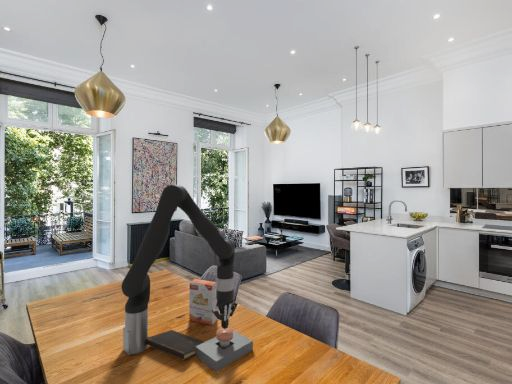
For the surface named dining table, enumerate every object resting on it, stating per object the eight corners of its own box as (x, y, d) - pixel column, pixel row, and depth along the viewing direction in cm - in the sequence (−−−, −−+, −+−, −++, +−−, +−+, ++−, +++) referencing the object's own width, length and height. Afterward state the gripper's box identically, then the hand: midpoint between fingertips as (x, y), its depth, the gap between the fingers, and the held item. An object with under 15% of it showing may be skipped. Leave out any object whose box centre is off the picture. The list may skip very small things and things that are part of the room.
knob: (223, 351, 112) (223, 337, 112) (213, 344, 116) (213, 331, 116) (236, 344, 117) (236, 331, 117) (225, 338, 122) (225, 325, 121)
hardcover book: (170, 334, 133) (171, 329, 133) (208, 348, 122) (208, 343, 122) (143, 344, 119) (144, 338, 119) (183, 360, 108) (184, 354, 108)
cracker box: (188, 321, 144) (188, 281, 144) (195, 316, 150) (195, 278, 150) (211, 326, 139) (212, 285, 139) (217, 320, 145) (217, 281, 145)
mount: (216, 371, 105) (216, 361, 104) (195, 356, 114) (195, 346, 114) (252, 349, 119) (252, 340, 119) (231, 337, 129) (231, 329, 129)
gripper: (218, 294, 109) (218, 337, 109) (242, 285, 118) (242, 325, 119) (207, 289, 114) (206, 330, 114) (231, 281, 124) (230, 319, 124)
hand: (224, 327), depth 116 cm, fingers closed
